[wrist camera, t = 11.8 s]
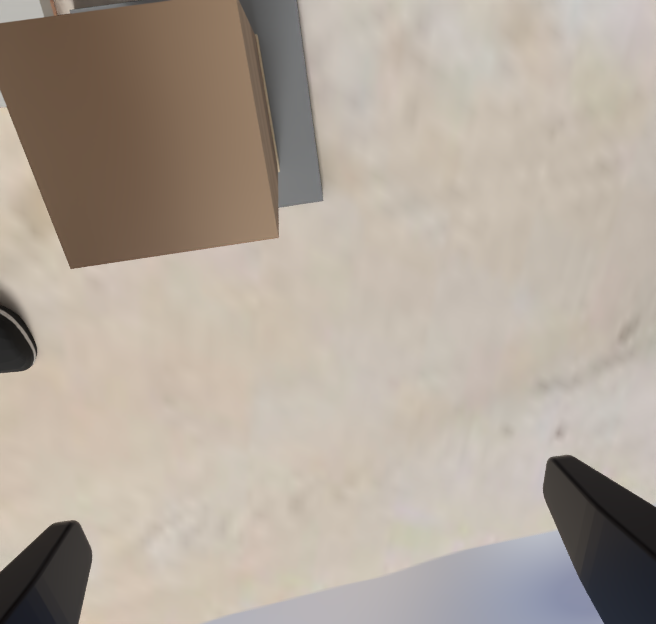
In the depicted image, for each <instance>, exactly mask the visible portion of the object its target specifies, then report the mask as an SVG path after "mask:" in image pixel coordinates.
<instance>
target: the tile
mask: <svg viewBox="0 0 656 624" xmlns="http://www.w3.org/2000/svg"><path fill="white" fill-rule="evenodd" d="M49 16H57V12H56V9H55V6H54V2H53V0H0V23H4V22H12V21H19V20H27V19H34V18H42V17H49ZM3 107H7V106H6V103H5V101H4V98H3V96H2V93H1V91H0V108H3Z"/></svg>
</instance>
